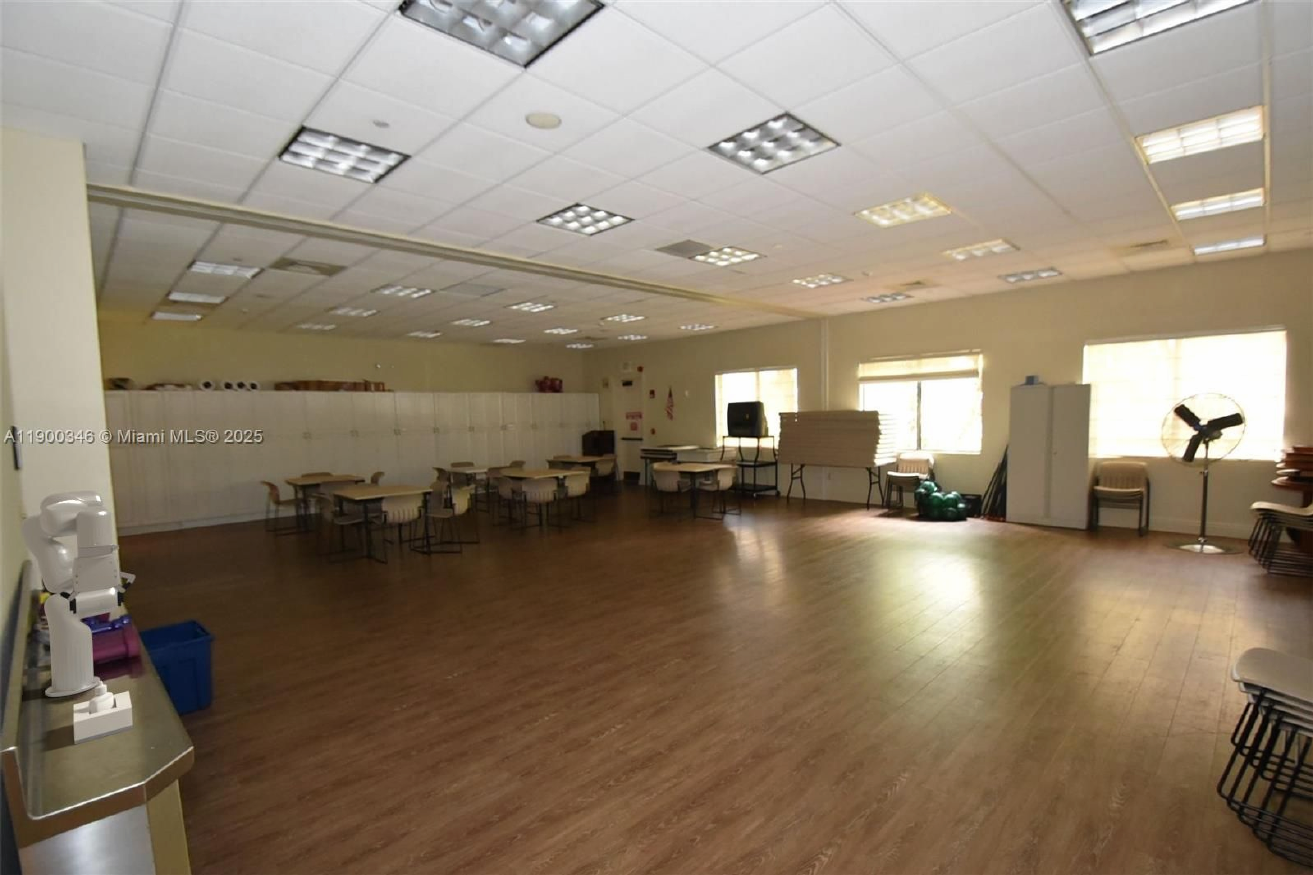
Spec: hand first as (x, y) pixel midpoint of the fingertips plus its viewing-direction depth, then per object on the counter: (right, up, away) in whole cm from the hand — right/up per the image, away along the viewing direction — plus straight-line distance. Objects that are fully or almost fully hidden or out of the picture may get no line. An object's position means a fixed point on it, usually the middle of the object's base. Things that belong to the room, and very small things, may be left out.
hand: (97, 609), depth 176 cm
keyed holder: (+10, -31, -9) cm, 33 cm away
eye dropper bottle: (+10, -30, -9) cm, 33 cm away
